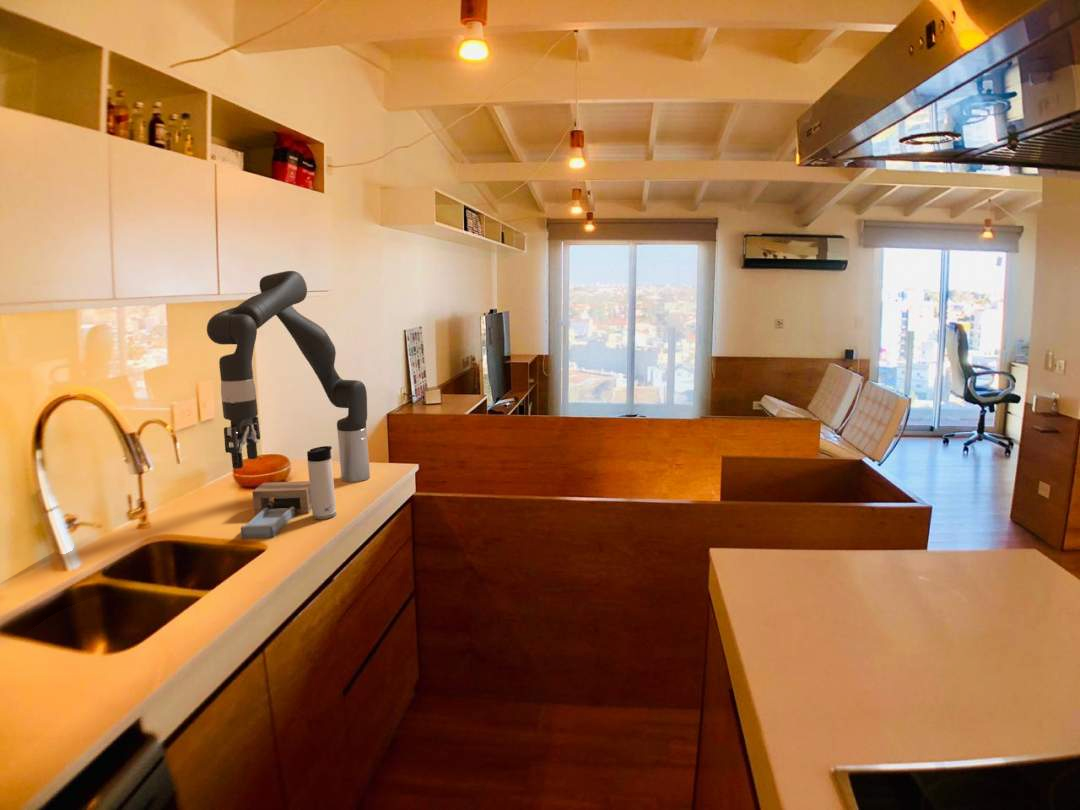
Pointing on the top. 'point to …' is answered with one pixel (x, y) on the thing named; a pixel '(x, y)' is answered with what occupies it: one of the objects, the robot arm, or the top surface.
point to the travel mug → (321, 482)
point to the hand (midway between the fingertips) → (245, 463)
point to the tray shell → (267, 523)
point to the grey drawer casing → (283, 496)
